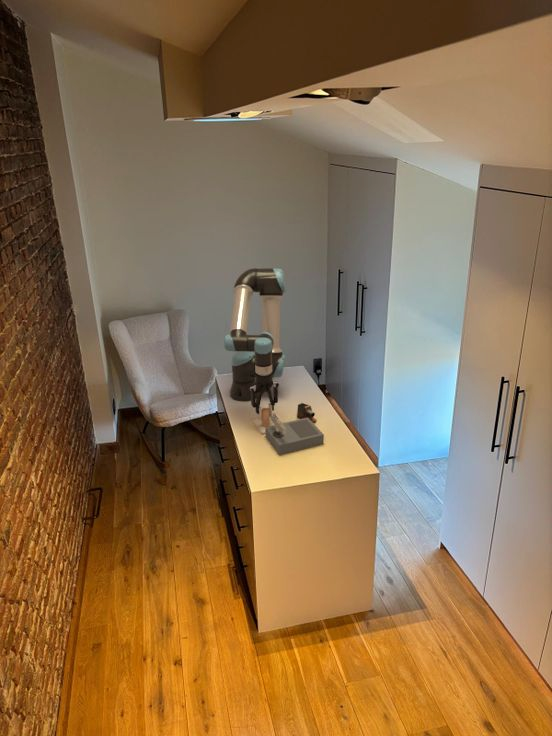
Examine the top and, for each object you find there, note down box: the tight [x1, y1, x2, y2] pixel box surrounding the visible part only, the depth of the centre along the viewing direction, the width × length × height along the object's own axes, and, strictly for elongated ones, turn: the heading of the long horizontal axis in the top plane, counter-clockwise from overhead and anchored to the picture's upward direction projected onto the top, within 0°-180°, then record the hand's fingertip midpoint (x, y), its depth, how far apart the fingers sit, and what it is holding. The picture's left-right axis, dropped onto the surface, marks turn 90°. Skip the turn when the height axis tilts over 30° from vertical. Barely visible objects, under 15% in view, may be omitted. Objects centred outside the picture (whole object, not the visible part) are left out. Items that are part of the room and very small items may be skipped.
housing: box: [265, 418, 325, 456], centre depth 241 cm, size 16×21×5 cm
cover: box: [252, 407, 275, 436], centre depth 251 cm, size 12×8×10 cm, turn 22°
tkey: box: [270, 412, 286, 435], centre depth 235 cm, size 2×14×6 cm, turn 22°
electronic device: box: [296, 402, 317, 424], centre depth 256 cm, size 4×10×8 cm, turn 41°
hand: (265, 417), depth 251 cm, fingers open, 5 cm apart
